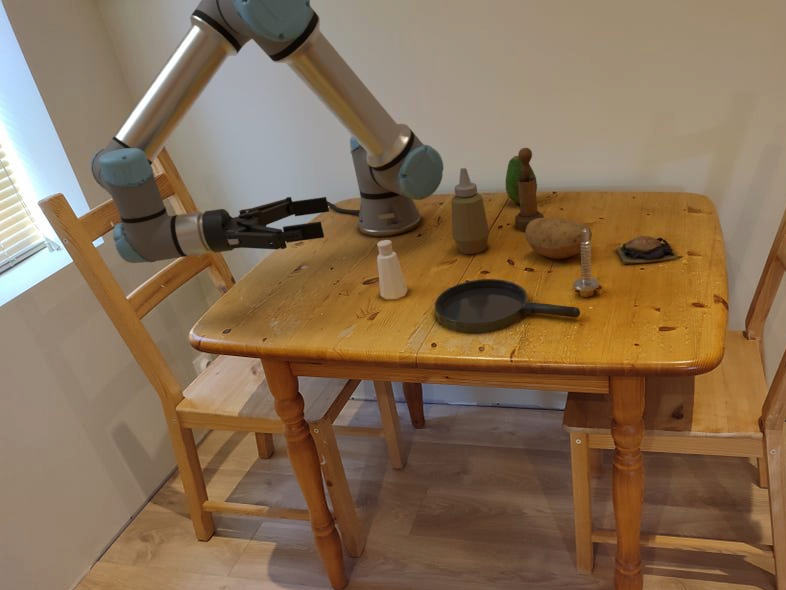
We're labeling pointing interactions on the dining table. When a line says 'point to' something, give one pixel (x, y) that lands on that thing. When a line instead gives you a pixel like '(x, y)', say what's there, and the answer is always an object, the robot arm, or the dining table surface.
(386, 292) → the salt shaker
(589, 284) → the screw
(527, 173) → the mortar and pestle
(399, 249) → the dining table surface
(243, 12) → the robot arm
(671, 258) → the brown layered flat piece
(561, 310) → the pan handle
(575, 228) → the potato
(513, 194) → the avocado
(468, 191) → the squeeze bottle
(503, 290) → the pan
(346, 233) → the dining table surface
